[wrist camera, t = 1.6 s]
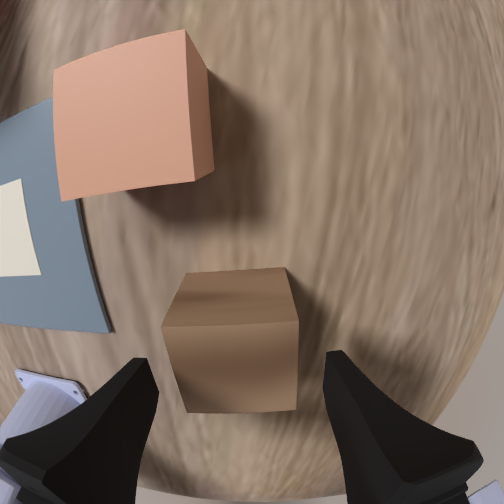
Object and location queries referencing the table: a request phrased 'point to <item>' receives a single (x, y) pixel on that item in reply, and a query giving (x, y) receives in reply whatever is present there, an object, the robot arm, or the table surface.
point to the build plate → (42, 234)
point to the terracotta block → (132, 117)
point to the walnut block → (234, 341)
